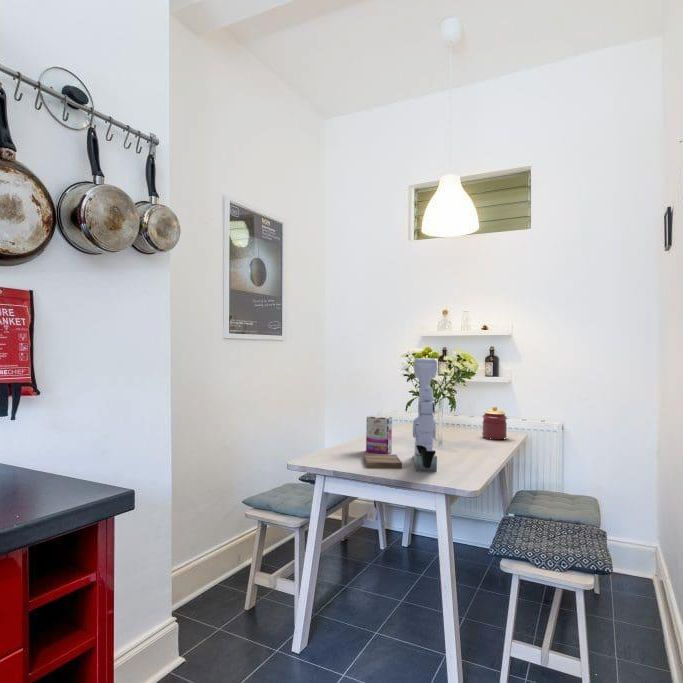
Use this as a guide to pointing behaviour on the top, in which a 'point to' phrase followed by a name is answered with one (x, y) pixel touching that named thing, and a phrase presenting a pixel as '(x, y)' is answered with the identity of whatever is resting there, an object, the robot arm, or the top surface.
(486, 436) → the canister
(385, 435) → the candy bar box
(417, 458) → the housing
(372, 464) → the stand
